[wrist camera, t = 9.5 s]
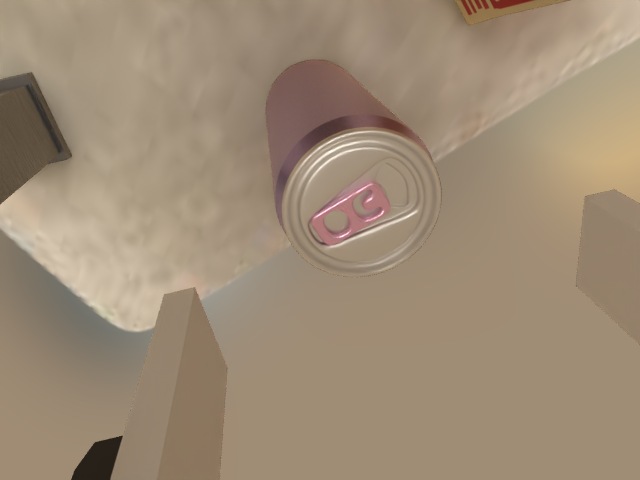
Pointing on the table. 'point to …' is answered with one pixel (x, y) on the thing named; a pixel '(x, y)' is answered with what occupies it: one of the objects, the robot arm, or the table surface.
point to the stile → (25, 133)
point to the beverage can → (347, 173)
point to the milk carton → (497, 8)
